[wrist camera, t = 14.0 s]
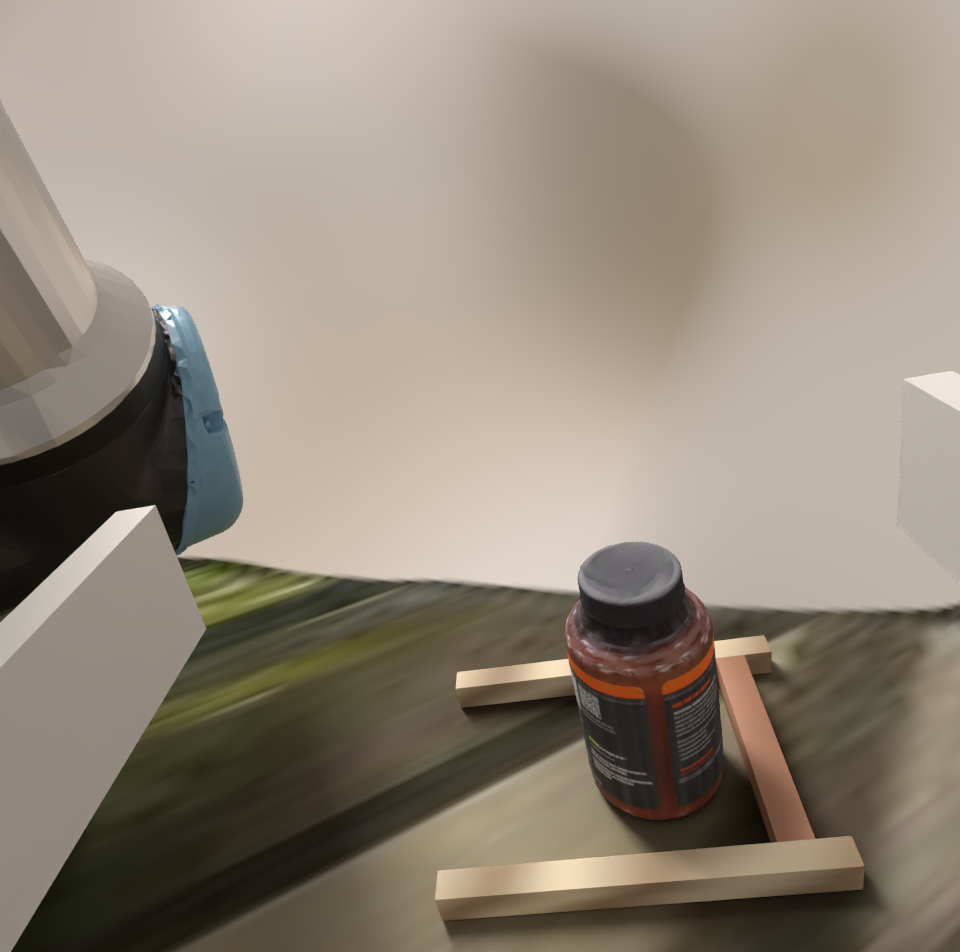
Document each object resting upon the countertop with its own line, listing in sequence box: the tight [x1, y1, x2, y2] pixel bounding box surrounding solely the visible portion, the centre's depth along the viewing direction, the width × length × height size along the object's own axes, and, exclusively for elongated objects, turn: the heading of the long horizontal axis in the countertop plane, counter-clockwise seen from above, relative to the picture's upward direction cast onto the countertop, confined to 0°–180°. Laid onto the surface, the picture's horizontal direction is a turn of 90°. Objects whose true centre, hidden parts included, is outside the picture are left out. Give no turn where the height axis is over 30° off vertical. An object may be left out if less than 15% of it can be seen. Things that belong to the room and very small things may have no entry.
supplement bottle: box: [565, 542, 724, 820], centre depth 31 cm, size 6×6×11 cm
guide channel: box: [435, 635, 865, 921], centre depth 33 cm, size 16×12×1 cm
